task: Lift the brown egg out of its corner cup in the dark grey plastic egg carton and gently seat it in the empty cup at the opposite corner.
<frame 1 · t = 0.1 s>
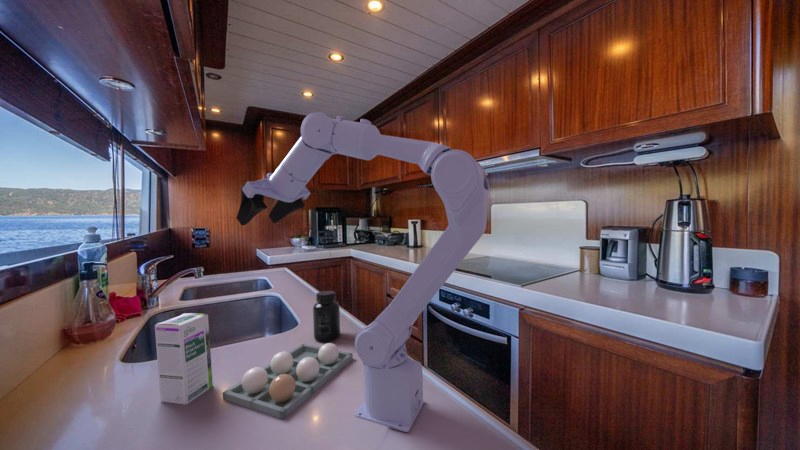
hand: (257, 220, 59), 32 cm above the counter, tool tilted 50°, fingers open, 7 cm apart
egg carton: (295, 378, 59), on the counter
supplement bottle: (327, 338, 79), on the counter
syrup box: (187, 396, 55), on the counter
brown egg: (283, 400, 52), resting on egg carton
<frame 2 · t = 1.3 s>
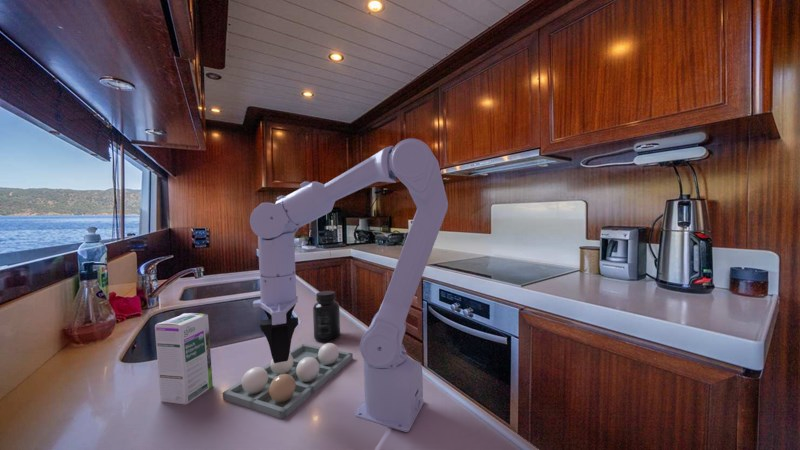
hand: (280, 350, 52), 9 cm above the counter, tool pointing down, fingers open, 7 cm apart
nothing on the counter moved.
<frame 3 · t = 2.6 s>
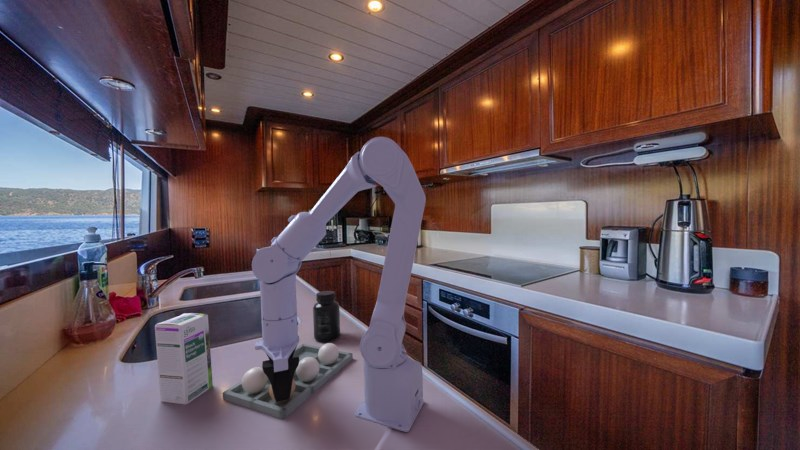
hand: (282, 391, 52), 2 cm above the counter, tool pointing down, fingers closed on brown egg, 4 cm apart
brown egg: (283, 400, 52), resting on egg carton, touching gripper
everything else where it was.
when the fingers open (3 cm above the counter, at t = 6.4 s): brown egg stays where it is, resting on egg carton.
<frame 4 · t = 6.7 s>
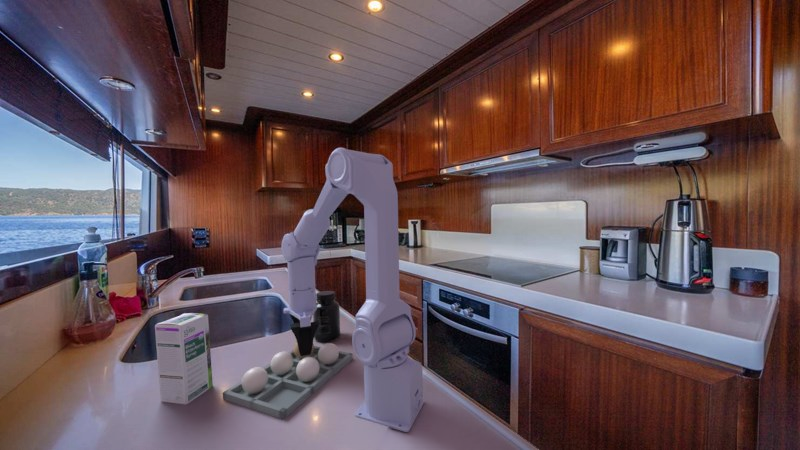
hand: (304, 347, 67), 3 cm above the counter, tool pointing down, fingers open, 7 cm apart
brown egg: (304, 358, 67), resting on egg carton, tilted 8°
everything else where it was.
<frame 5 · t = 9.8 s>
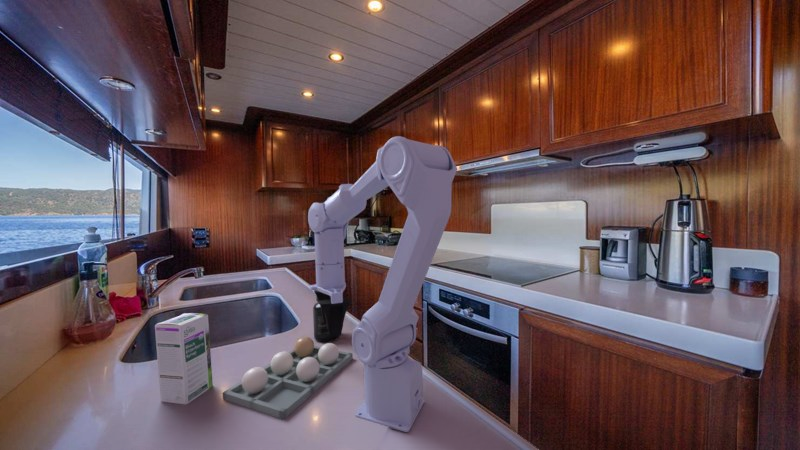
hand: (332, 328, 61), 9 cm above the counter, tool pointing down, fingers open, 7 cm apart
brown egg: (304, 357, 67), point 1 cm above the counter, tilted 30°, touching egg carton
everything else where it was.
at the end: brown egg 0.0 cm from the target spot on the egg carton, point 0.7 cm above the egg carton's base; the gripper is holding nothing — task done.
